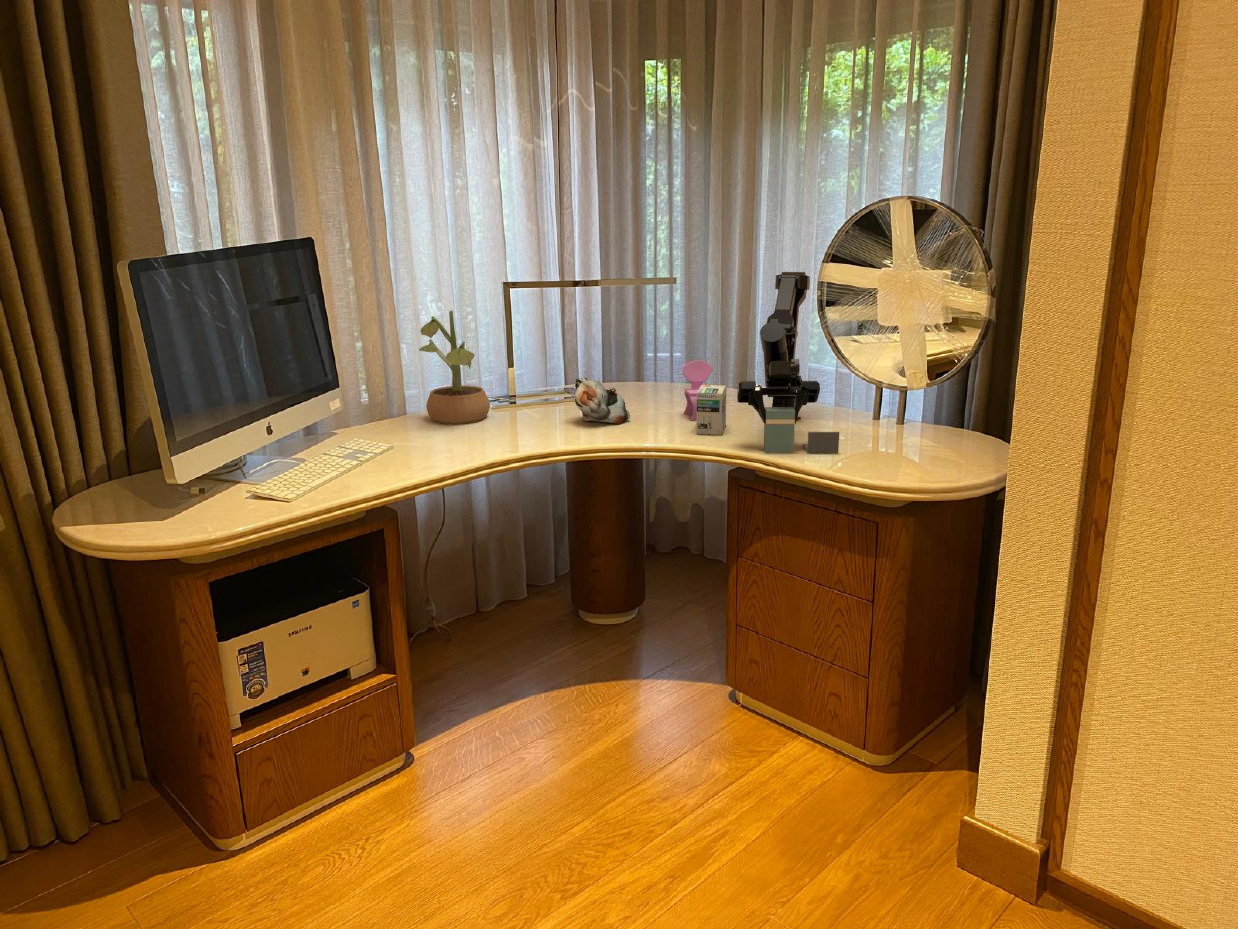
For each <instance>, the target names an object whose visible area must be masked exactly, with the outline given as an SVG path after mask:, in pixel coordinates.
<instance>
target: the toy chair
mask: <svg viewBox="0 0 1238 929" xmlns="http://www.w3.org/2000/svg"><path fill="white" fill-rule="evenodd" d="M681 373H682V375H683V376H684V378H686V379H687V381H689V382H691V385H690V386H691V388H684V397H685V399H686V406H685V409H684V411H683V415H691V418H690V420H689V421H690V422H695V421H694V420H696V419H697V391H698V390H699V388H700V386H701V385H704V384H703V383H704V382H705V381H707V380H708V379H710V376H711V375H712V373H713V367H712V365H711V364H710V363H708V362H706V361H704V360H698V359H697V360H691V361H690V362H687V363H685V364H684V365H683V367H682V369H681Z"/></svg>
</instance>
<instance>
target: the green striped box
mask: <svg viewBox="0 0 1238 929" xmlns="http://www.w3.org/2000/svg"><path fill="white" fill-rule="evenodd" d="M764 407H765V413H766V423H763V424H764V426H763V450H764V454H794V447H795V446H794V445H795V426H796V425H795V410H794V408H793V407H772V406H764Z"/></svg>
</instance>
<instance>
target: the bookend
mask: <svg viewBox="0 0 1238 929" xmlns="http://www.w3.org/2000/svg"><path fill="white" fill-rule="evenodd" d="M839 444H840V432H839V431H808V432H807V443H803V444H802V445H803V447H804V449H805V451H806V453H807V454H827V455H828V454H832V453H833V454H834V453H835V454H836V453H838V454H839V448H840V446H839Z"/></svg>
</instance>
